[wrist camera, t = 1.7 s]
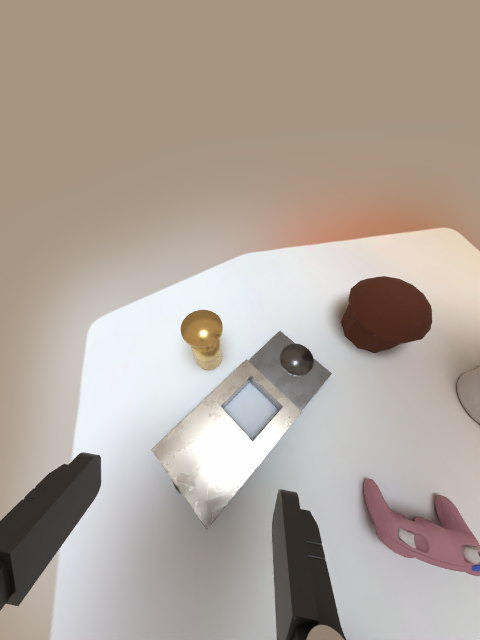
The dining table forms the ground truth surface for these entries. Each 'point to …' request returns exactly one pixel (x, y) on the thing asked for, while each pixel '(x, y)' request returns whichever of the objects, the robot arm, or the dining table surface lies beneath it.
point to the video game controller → (426, 534)
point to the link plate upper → (220, 445)
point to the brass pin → (204, 337)
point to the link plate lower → (288, 370)
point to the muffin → (385, 314)
